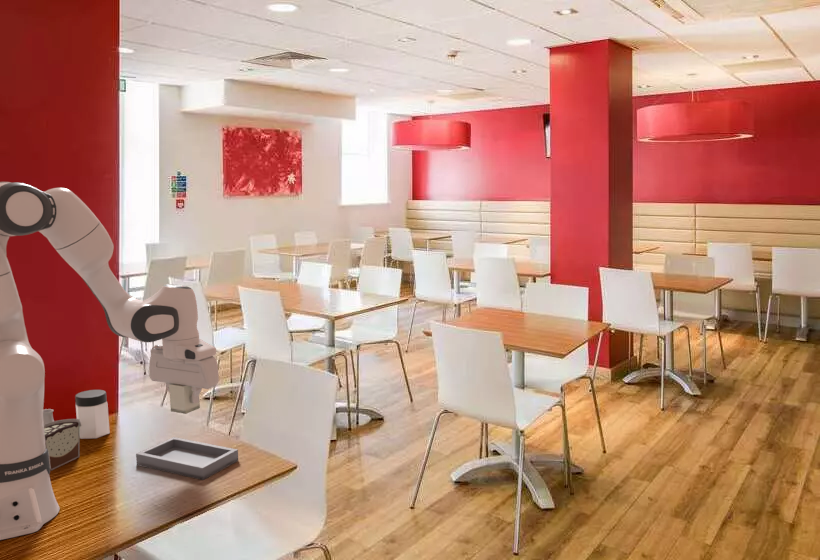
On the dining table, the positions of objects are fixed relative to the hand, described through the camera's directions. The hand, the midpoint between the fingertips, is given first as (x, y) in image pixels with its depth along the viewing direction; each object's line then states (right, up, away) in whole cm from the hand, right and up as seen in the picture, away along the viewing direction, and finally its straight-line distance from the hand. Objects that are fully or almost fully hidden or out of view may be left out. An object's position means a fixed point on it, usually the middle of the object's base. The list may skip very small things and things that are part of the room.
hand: (184, 401), depth 176 cm
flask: (-42, -15, +15) cm, 47 cm away
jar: (-34, -14, +24) cm, 44 cm away
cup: (0, -2, 0) cm, 2 cm away
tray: (0, -16, +2) cm, 16 cm away
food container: (-35, -17, +4) cm, 38 cm away
